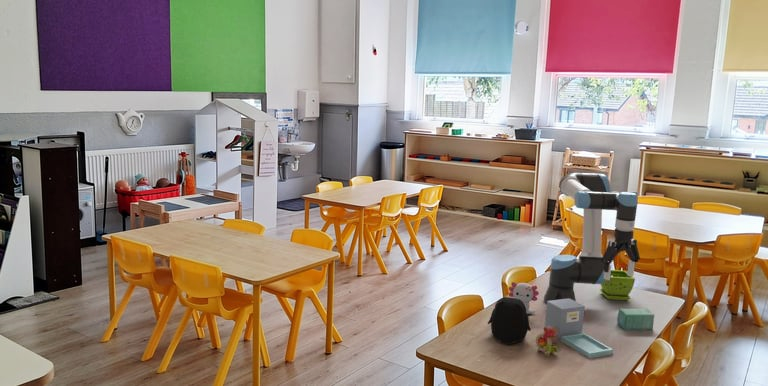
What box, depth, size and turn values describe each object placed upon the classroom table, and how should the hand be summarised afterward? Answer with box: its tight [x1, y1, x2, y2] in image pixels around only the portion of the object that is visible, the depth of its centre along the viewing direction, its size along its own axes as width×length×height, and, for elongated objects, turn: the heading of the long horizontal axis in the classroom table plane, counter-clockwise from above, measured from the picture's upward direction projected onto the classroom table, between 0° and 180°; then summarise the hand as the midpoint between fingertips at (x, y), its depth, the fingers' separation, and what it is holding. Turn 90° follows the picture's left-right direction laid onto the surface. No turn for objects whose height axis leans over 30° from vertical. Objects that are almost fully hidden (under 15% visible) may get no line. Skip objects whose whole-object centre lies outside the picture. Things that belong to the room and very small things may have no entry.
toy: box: [508, 281, 540, 315], centre depth 287 cm, size 14×8×15 cm, turn 68°
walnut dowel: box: [546, 326, 558, 346], centre depth 258 cm, size 5×5×6 cm
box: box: [616, 308, 655, 331], centre depth 279 cm, size 7×14×8 cm, turn 95°
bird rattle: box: [535, 326, 559, 357], centre depth 247 cm, size 6×11×9 cm
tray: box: [560, 332, 614, 359], centre depth 255 cm, size 17×12×2 cm
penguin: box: [487, 296, 532, 346], centre depth 259 cm, size 18×18×17 cm
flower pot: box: [599, 269, 636, 301], centre depth 317 cm, size 14×14×13 cm
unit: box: [544, 298, 586, 339], centre depth 268 cm, size 11×12×13 cm
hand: (618, 277), depth 264 cm, fingers open, 13 cm apart
